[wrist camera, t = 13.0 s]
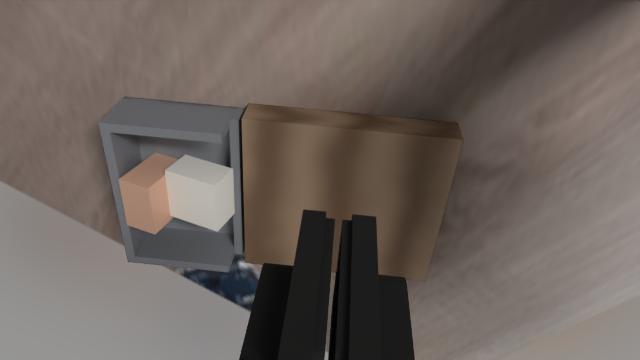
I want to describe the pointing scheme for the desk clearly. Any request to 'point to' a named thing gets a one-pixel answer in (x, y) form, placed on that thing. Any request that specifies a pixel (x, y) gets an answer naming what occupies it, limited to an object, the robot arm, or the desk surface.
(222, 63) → the desk surface
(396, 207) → the plate
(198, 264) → the box
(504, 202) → the desk surface
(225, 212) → the tile cream
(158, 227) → the tile terracotta
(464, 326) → the desk surface
